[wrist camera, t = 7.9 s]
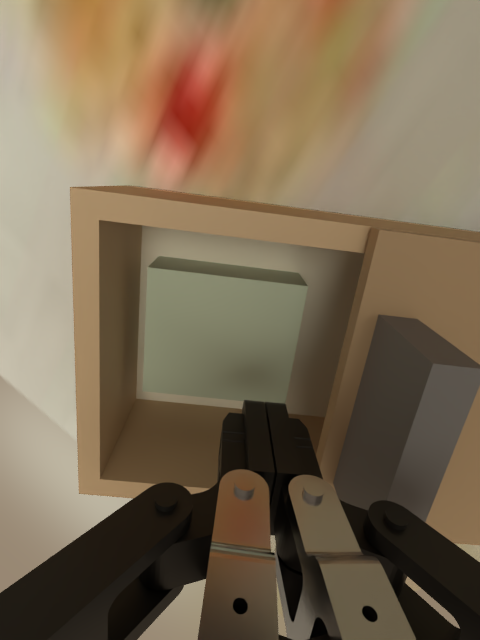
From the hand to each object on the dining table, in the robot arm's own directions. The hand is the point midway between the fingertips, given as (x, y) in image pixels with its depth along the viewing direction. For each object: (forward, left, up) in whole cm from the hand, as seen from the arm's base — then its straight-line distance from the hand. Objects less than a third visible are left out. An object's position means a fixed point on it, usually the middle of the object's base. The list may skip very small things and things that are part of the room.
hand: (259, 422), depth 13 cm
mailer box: (-2, 0, -11) cm, 11 cm away
